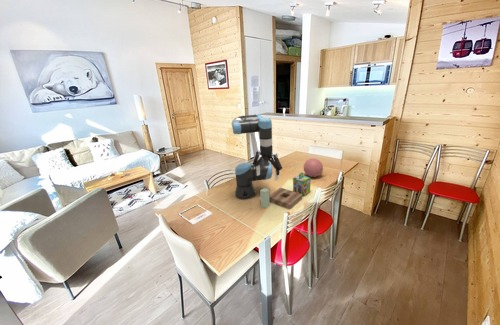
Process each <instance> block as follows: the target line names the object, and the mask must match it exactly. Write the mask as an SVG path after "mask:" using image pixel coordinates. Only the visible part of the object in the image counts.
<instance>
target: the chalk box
mask: <svg viewBox="0 0 500 325" xmlns="http://www.w3.org/2000/svg"><path fill="white" fill-rule="evenodd" d="M311 178H312V177H310V176H308V175H307V176H306V175H304V173H303V172H300V173H299V174H298V175H297V176H294V177H293V178H292V187H293V188H292V190H293V192H296V193H300V194H302V197H305V196H306V195H308V194H309V193H311Z"/></svg>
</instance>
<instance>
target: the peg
mask: <svg viewBox="0 0 500 325" xmlns="http://www.w3.org/2000/svg"><path fill="white" fill-rule="evenodd" d="M259 194H260V206H261V208H263V209H267V208H270V206H271V205H270V204H271V202H269V195H270V189H267V188H265V187H263V188H262V189H260V192H259Z"/></svg>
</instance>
